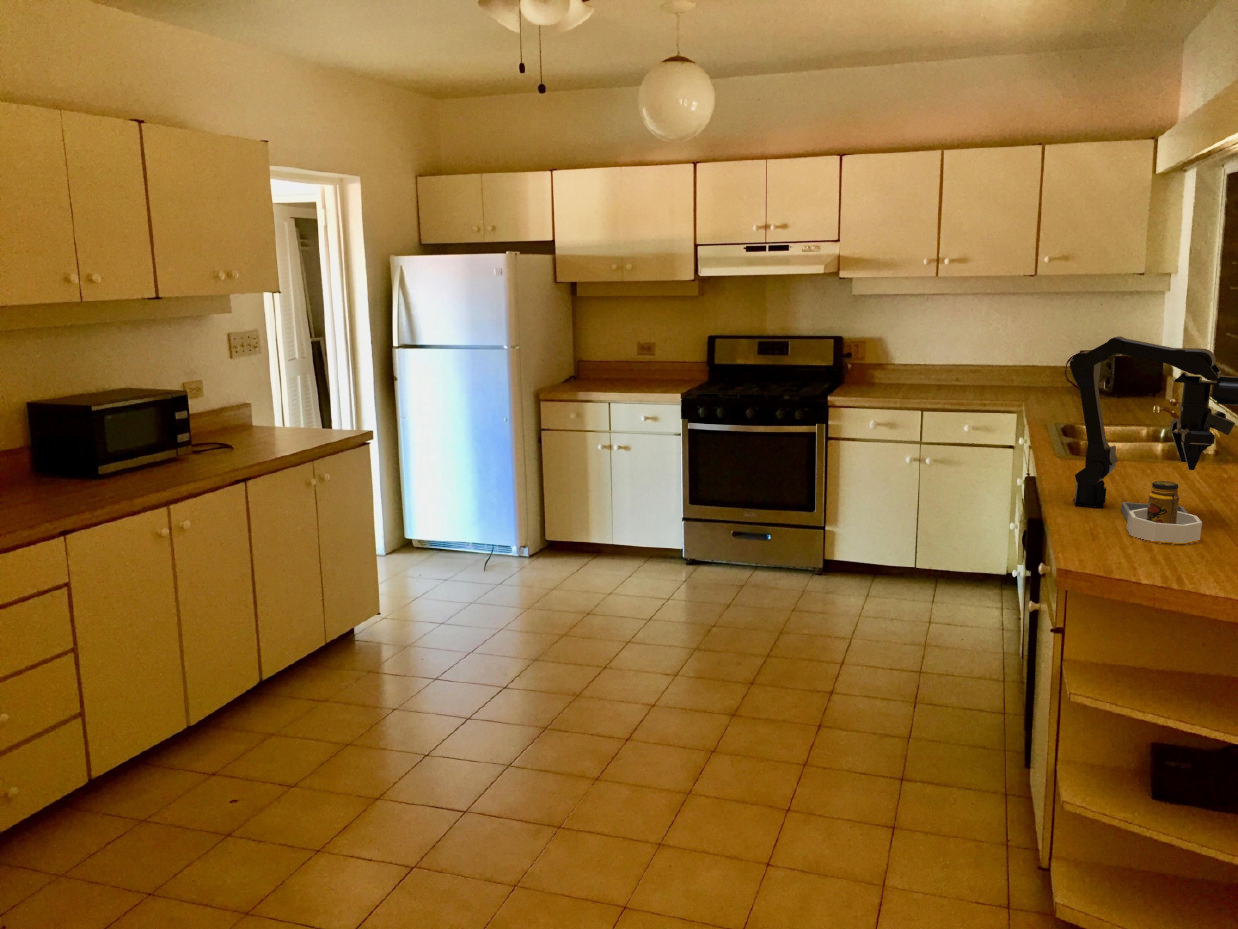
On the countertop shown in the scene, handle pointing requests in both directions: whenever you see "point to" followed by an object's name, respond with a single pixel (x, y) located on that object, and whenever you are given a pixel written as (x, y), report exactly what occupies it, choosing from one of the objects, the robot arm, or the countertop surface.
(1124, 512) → the open square frame
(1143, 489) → the countertop surface
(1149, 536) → the bowl
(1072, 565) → the countertop surface
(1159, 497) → the condiment
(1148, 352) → the robot arm
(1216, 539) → the countertop surface
